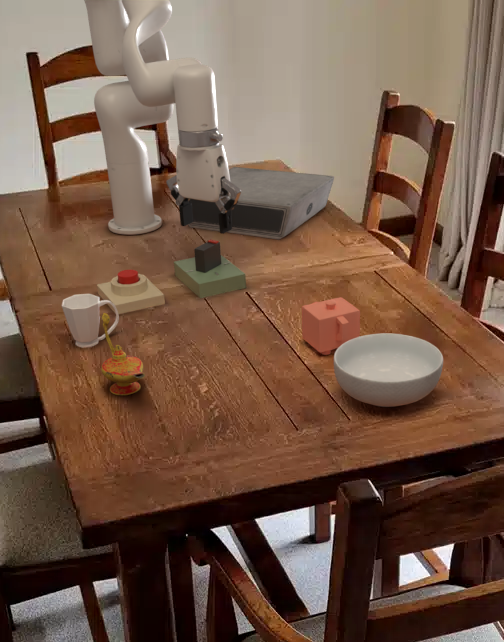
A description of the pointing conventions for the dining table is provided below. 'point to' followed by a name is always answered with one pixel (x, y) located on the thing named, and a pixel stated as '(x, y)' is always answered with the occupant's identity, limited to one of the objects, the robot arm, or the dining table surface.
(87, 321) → the cup
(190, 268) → the panel
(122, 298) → the switch box
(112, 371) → the magic lamp
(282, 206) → the speaker
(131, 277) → the power button
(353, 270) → the dining table surface
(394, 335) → the cereal bowl
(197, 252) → the red-striped black box
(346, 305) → the pink cube teapot
